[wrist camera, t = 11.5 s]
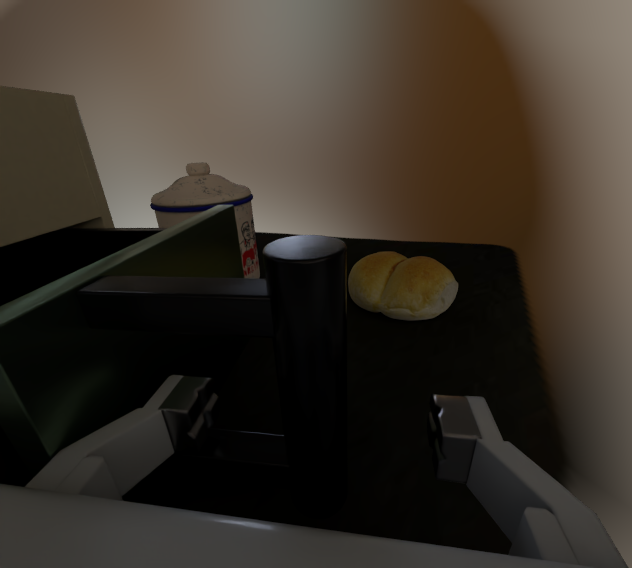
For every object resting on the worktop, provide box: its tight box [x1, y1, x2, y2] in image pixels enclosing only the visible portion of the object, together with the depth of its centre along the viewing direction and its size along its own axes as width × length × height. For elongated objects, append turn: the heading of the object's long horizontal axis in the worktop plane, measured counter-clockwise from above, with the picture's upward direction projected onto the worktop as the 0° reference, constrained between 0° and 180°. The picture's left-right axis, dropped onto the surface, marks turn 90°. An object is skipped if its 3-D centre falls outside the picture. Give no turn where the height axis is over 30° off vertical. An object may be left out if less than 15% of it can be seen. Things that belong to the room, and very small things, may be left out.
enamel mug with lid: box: [150, 163, 260, 279], centre depth 33 cm, size 12×9×12 cm
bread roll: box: [348, 252, 458, 321], centre depth 28 cm, size 8×9×4 cm
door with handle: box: [0, 205, 348, 519], centre depth 15 cm, size 21×14×10 cm, turn 81°
